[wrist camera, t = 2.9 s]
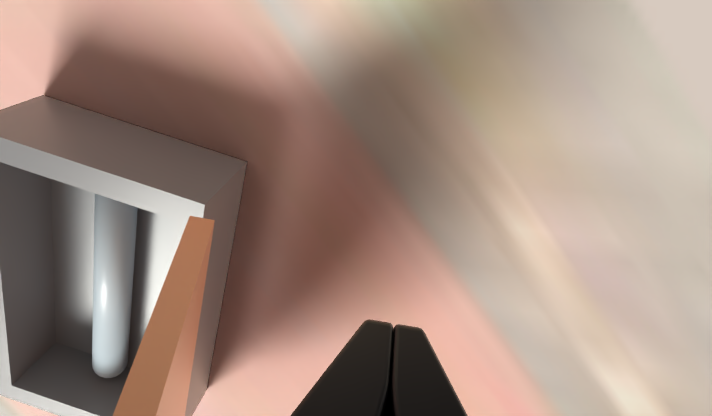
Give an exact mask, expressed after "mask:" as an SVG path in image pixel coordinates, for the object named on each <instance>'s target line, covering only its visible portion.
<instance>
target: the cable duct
mask: <svg viewBox="0 0 712 416" xmlns="http://www.w3.org/2000/svg"><path fill="white" fill-rule="evenodd" d="M246 166H247V162H246V161H243V160H240V159H237V158H234V157H231V156H228V155H225V154H222V153H219V152H216V151H213V150H209V149H206V148H203V147H200V146H197V145H194V144H191V143H188V142H185V141H182V140H179V139H176V138H173V137H170V136H167V135H164V134H160V133H157V132H154V131H151V130H148V129H145V128H142V127H139V126H136V125H133V124H130V123H127V122H124V121H121V120H118V119H115V118H111V117H108V116H105V115H102V114H99V113H96V112H93V111H90V110H87V109H84V108H81V107H78V106H75V105H72V104H69V103H66V102H62V101H59V100H56V99H53V98H50V97H47V96H44V95H42V96H39V97H36V98H33V99H31V100H28V101H25V102H22V103H19V104H16V105H13V106H11V107H8V108H5V109H2V110H0V395H1V396H4V397H7V398H10V399H12V400H15V401H18V402H21V403H24V404H27V405H30V406H33V407H36V408H38V409H41V410H44V411H47V412H50V413H53V414H56V415H59V416H113V413H114V411H115V408H116V406H117V403H118V400H119V398H120V395H121V393H122V390H123V387H124V385H125V382H126V380H127V377H128V375H129V372H130V369H131V367H132V364H133V362H134V359H135V356H136V354H137V351H138V349H139V346H140V343H141V341H142V338H143V336H144V333H145V330H146V328H147V325H148V323H149V320H150V318H151V315H152V312H153V310H154V307H155V305H156V302H157V299H158V297H159V294H160V292H161V289H162V286H163V284H164V281H165V279H166V276H167V274H168V271H169V268H170V266H171V263H172V261H173V258H174V255H175V253H176V250H177V248H178V245H179V242H180V240H181V237H182V235H183V232H184V229H185V227H186V224H187V222H188V219H189V217H190V216H194V217H200V218H205V219H211V220H215V222H214V229H213V235H212V242H211V248H210V255H209V261H208V268H207V274H206V281H205V287H204V294H203V301H202V307H201V314H200V320H199V327H198V333H197V340H196V346H195V353H194V359H193V366H192V372H191V379H190V385H189V392H188V399H187V405H186V412H185V416H192V415H193V413H194V411H195V409H196V408H197V406H198V404H199V402H200V401H201V399H202V397H203V395H204V394H205V392H206V390H207V385H208V380H209V374H210V368H211V363H212V357H213V352H214V346H215V340H216V335H217V329H218V323H219V318H220V312H221V307H222V301H223V295H224V290H225V284H226V279H227V273H228V267H229V262H230V256H231V251H232V245H233V239H234V234H235V228H236V222H237V217H238V211H239V206H240V200H241V194H242V189H243V183H244V178H245V172H246Z"/></svg>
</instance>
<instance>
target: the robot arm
mask: <svg viewBox="0 0 712 416" xmlns="http://www.w3.org/2000/svg"><path fill="white" fill-rule="evenodd" d="M291 416H467V414H466V412H465V410H464V408H463V406H462V404H461V402H460V400H459V398H458V396H457V395H456V393H455V391H454V389H453V387H452V385H451V383H450V381H449V379H448V377H447V375H446V373H445V371H444V369H443V367H442V365H441V364H440V362H439V360H438V358H437V356H436V354H435V352H434V350H433V348H432V346H431V344H430V342H429V340H428V338H427V336H426V334H425V333H424V331H423V330H422V329H421V328H418V327H412V326H406V325H400V324H399V325H396V326H395V327H394V329H393V326H392V324H391V323H388V322H382V321H376V320H366V321H364V322H363V323H362V325H361V326H360V327H359V329H358V330H357V331H356V332H355V334H354V335H353V336H352V338H351V339H350V340H349V341H348V343H347V344H346V345H345V347H344V348H343V349H342V350H341V352H340V353H339V354H338V355H337V357H336V358H335V359H334V361H333V362H332V363H331V364H330V366H329V367H328V368H327V370H326V371H325V372H324V373H323V375H322V376H321V377H320V379H319V380H318V381H317V382H316V384H315V385H314V386H313V388H312V389H311V390H310V391H309V393H308V394H307V395H306V396H305V398H304V399H303V400H302V402H301V403H300V404H299V405H298V407H297V408H296V409H295V411H294V412H293V413H292V414H291Z"/></svg>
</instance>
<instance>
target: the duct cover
mask: <svg viewBox="0 0 712 416" xmlns="http://www.w3.org/2000/svg"><path fill="white" fill-rule="evenodd" d="M214 222H215V220H211V219H205V218H200V217H194V216H190V217H189V219H188V222H187V224H186V227H185V229H184V232H183V235H182V237H181V240H180V242H179V245H178V248H177V250H176V253H175V255H174V258H173V261H172V263H171V266H170V268H169V271H168V274H167V276H166V279H165V281H164V284H163V286H162V289H161V292H160V294H159V297H158V299H157V302H156V305H155V307H154V310H153V312H152V315H151V318H150V320H149V323H148V325H147V328H146V330H145V333H144V336H143V338H142V341H141V343H140V346H139V349H138V351H137V354H136V356H135V359H134V362H133V364H132V367H131V369H130V372H129V375H128V377H127V380H126V382H125V385H124V387H123V390H122V393H121V395H120V398H119V400H118V403H117V406H116V408H115V411H114V413H113V416H185V412H186V405H187V399H188V392H189V385H190V379H191V372H192V366H193V359H194V353H195V346H196V340H197V333H198V327H199V320H200V314H201V307H202V301H203V294H204V287H205V281H206V274H207V268H208V261H209V255H210V248H211V242H212V235H213V229H214Z"/></svg>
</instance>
